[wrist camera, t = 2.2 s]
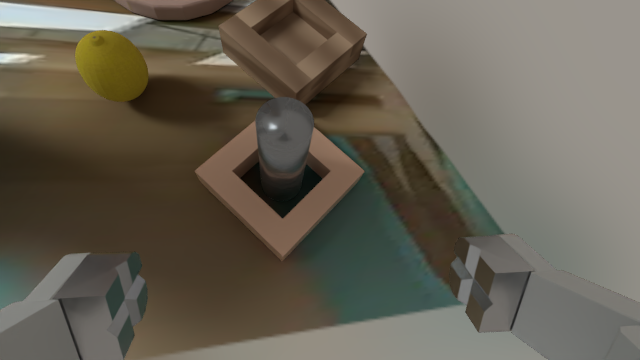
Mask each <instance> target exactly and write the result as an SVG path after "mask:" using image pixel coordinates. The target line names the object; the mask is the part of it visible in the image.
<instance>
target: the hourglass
mask: <svg viewBox="0 0 640 360" xmlns="http://www.w3.org/2000/svg"><path fill="white" fill-rule="evenodd" d="M114 1H116V2H117V3H119V4H120V5H122V6H123V7H125V8H126V9H128V10H129V11H131V12H133V13H136V14H140V15H143V16H147V17H150V18H154V19H157V20H189V19H193V18H197V17H201V16H205V15H208V14H212V13H214V12H215V11H217V10H218V9H220V8H222V7H223V6H225V5H227V4H228V3H230V2H231V1H233V0H114Z"/></svg>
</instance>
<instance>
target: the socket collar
mask: <svg viewBox="0 0 640 360" xmlns="http://www.w3.org/2000/svg"><path fill="white" fill-rule="evenodd" d="M258 162H259V155H258V144H257V134H256V123H255V121H254V122H253V123H251V124H250V125H249V126H248V127H247V128H245V129H244V130H243V131H242V132H241V133H239V134H238V135H237V136H236V137H235V138H233V139H232V140H231V141H230V142H229V143H227V144H226V145H225V146H224V147H222V148H221V149H220V150H219V151H218V152H216V153H215V154H214V155H213V156H212V157H210V158H209V159H208V160H207V161H206V162H204V163H203V164H202V165H201V166H200V167H198V168H197V169H196V170H195V173H196V174H197V176H198V178H199V180H200V182H201V183H202V184H203V185H204V186H205V187H206V188H207V189H208V190H209V191H210V192H211V193H212V194H213V195H214V196H215V197H216V198H217V199H218V200H220V201H221V202H222V203H223V204H224V205H225V206H226V207H227V208H228V209H229V210H230V211H231V212H232V213H233V214H234V215H235V216H236V217H237V218H238V219H239V220H240V221H241V222H242V223H243V224H244V225H245V226H246V227H247V228H248V229H249V230H250V231H251V232H252V233H253V234H254V235H256V236H257V237H258V238H259V239H260V240H261V241H262V242H263V243H264V244H265V245H266V246H267V247H268V248H269V249H270V250H271V251H272V252H273V253H274V254H275V255H276V256H277V257H278V258H279V259H280V260H281V261H283V260H284V259H285V258H286V257H287V256H288V255H289V254H290V253H291V252H292V251H293V250H294V249H295V248H296V247H297V246H298V244H299V243H300V242H301V241H302V240H303V239H304V238H305V237H306V236H307V235H308V234H309V233H310V232H311V231H312V230H313V229H314V228H315V227H316V226H317V225H318V223H319V222H320V221H321V220H322V219H323V218H324V217H325V216H326V215H327V214H328V213H329V212H330V211H331V210H332V209H333V208H334V207H335V206H336V205H337V204H338V202H339V201H340V200H341V199H342V198H343V197H344V196H345V195H346V194H347V193H348V192H349V191H350V190H351V189H352V188H353V187H354V186H355V185H356V184H357V183H358V181H359V180H360V178H361V176H362V175H363V173H364V172H365V171H364V170H363V169H362V168H361V167H359V166H358V165H357V164H356V163H355V162H354V161H353V160H351V159H350V158H349V157H348V156H347V155H346V154H345V153H343V152H342V151H341V150H340V149H339V148H338V147H337V146H335V145H334V144H333V143H332V142H331V141H330V140H329V139H327V138H326V137H325V136H324V135H323V134H322V133H320V132H319V131H318V130H317V129H316V128H315V127H314V129H313V133H312V138H311V143H310V147H309V152H308V157H307V162H306V164H307V165H308V166H309V167H310V168H311V169H312V170H314V171H315V172H316V173H317V174H318V175H319V176H320V177H321V178H322V180H321V181H320V182H319V183H318V184H317V185H316V186H315V187H314V188H313V189H312V190H311V191H310V192H309V193H308V194H307V195H306V196H305V197H304V198H303V199H302V200H301V201H300V202H299V203H298V204H297V205H296V206H295V207H294V208H293V209H292V210H291V211H290V212H289V213H288V214H287V215H286V216H285V217H284V218H283V219H282V218H281V217H280V216H279V215H278V214H277V213H276V212H275V211H274V210H273V209H272V208H271V207H269V206H268V205H267V204H266V203H265V202H264V201H263V200H262V199H261V198H260V197H259V196H258V195H257V194H256V193H255V192H254V191H253V190H251V189H250V188H249V187H248V186H247V185H246V184H245V183H244V182H243V181H242V180H241V179H240V178H241V177H242V176H243V175H244V174H245V173H246V172H247V171H249V170H250V169H251V168H252V167H253V166H254V165H255V164H256V163H258Z"/></svg>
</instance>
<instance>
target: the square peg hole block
mask: <svg viewBox="0 0 640 360" xmlns="http://www.w3.org/2000/svg"><path fill="white" fill-rule="evenodd" d="M219 31H220V36H221V42H222V47H223V52H224V53H225V54H226V55H227V56H228V57H229V58H230V59H231V60H233V61H234V62H235V63H236V64H237V65H238V66H239V67H241V68H242V69H243V70H244V71H245V72H246V73H247V74H249V75H250V76H251V77H252V78H253V79H254V80H255V81H257V82H258V83H259V84H260V85H261V86H262V87H263V88H265V89H266V90H267V91H268V92H269V93H270V94H271V95H272V96H274V97H275V98H278V97H289V98H294V99H296V100H299V101H300V102H302V103H303V104H305V105H306V104H307V103H308V102H309V101H310V100H312V99H313V98H314V97H315V96H316V95H317V94H318V93H320V92H321V91H322V90H323V89H324V88H325V87H327V86H328V85H329V84H330V83H331V82H332V81H333V80H335V79H336V78H337V77H338V76H339V75H340V74H342V73H343V72H344V71H345V70H346V69H347V68H348V67H350V66H351V65H352V64H353V63H354V62H355V61H357V60H358V59H359V56H360V53H361V50H362V47H363V44H364V41H365V38H366V35H367V34H366V33H365V32H364V31H363V30H361V29H360V28H359V27H358V26H356V25H355V24H354V23H353V22H351V21H350V20H349V19H347V18H346V17H345V16H344V15H343V14H341V13H340V12H339V11H337V10H336V9H335V8H334V7H332V6H331V5H330V4H329V3H327V2H326V1H325V0H256V1H255V2H253V3H252V4H250V5H249V6H247V7H246V8H244V9H243V10H241V11H240V12H238V13H237V14H235V15H234V16H232V17H231V18H230V19H228V20H227V21H225V22H224V23H222V24H221V25H219Z"/></svg>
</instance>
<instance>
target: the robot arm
mask: <svg viewBox="0 0 640 360" xmlns="http://www.w3.org/2000/svg"><path fill="white" fill-rule="evenodd" d="M454 252H455V254H456V256H457V258H456V259H455V260H454V261H453V262H452V263H451V265H450V271H449V281H450V286H451V289H452V292H453V294H454V295H455V297H456V298H457V300H459V301H460V302H462V303H464V304H465V305H467V307H466V314H467V315H468V317H469V319H470V320H471V322H472V323H473V324H474V326H475V328H476V329H477V331H478V332H501V331H512V332H511V333H513V334H514V335H515V336H516V337H518V338H519V339H521V340H522V341H523V342H525V343H526V344H527V345H529V346H530V347H531V348H533V349H534V350H536V351H537V352H538V353H540V354H541V355H542V356H544V357H545V358H547V359H548V360H640V303H639V302H637V301H635V300H632V299H630V298H628V297H625V296H623V295H620V294H618V293H616V292H613V291H611V290H609V289H606V288H604V287H601V286H599V285H597V284H594V283H592V282H590V281H587V280H585V279H582V278H580V277H578V276H575V275H573V274H571V273H568V272H566V271H563V270H556V269H555V268H554V267H552V266H551V265H550V264H549V263H548V262H547V261H546V260H545V259H544V258H542V257H541V256H540V255H539V254H538V253H537V252H535V250H533V249H532V248H531V247H530V246H529V245H528V244H527V243H526V242H524V241H523V240H522V239H521V238H520V237H519V236H517V235H515V234H501V235H493V236H477V237H460V238H458V239H457V241H456V242H455V246H454ZM141 267H142V263H141V260H140V256H139V254H137V253H136V252H103V253H75V254H68V255H65V256H64V257H63V258H62V259H61V260H60V261H59V262H58V263H57V264H56V265H55V267H54V268H53V269H52V270H51V271H50V272H49V273H48V274H47V275H46V277H45V278H44V279H43V280H42V281H41V282H40V283H39V284H38V285H37V286H36V288H35V289H34V290H33V291H32V292H31V293H30V294H29V295H28V296H27V298H26V299H25V300H24V301H21V302H14V303H12V304H10V305H8V306H6V307H4V308H3V309H1V310H0V360H124V358H125V356H126V353H127V351H128V349H129V347H130V345H131V342H132V340H133V338H134V336H135V335H134V331H133V326H135V325H136V324H137V323H138V322H140V321H141V320H142V318H143V315H144V313H145V310H146V304H147V299H148V297H147V286H146V281H145V280H144V279H143V278H142V277H140V276H139V275H138V273H139V271H140V269H141Z"/></svg>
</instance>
